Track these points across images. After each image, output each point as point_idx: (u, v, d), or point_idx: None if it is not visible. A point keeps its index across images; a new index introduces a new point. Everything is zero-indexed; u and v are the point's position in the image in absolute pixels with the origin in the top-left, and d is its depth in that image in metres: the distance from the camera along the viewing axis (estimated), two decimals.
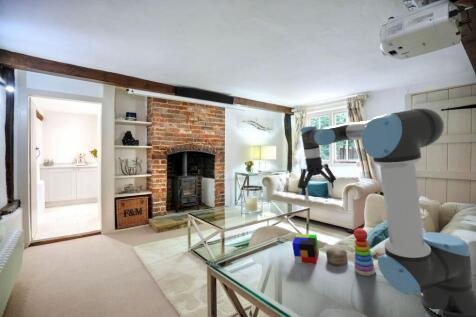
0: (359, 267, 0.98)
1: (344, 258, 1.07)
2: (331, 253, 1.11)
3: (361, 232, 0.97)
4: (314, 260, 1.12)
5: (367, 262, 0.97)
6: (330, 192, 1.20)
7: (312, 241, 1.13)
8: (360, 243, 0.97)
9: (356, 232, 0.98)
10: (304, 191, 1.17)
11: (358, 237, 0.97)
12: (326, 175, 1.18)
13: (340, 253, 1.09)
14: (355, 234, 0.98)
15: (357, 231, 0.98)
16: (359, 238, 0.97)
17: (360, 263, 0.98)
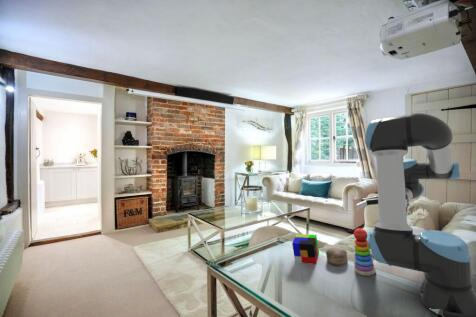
0: (359, 267, 0.98)
1: (344, 258, 1.07)
2: (331, 253, 1.11)
3: (361, 232, 0.97)
4: (314, 260, 1.12)
5: (367, 262, 0.97)
6: None
7: (312, 241, 1.13)
8: (360, 243, 0.97)
9: (356, 232, 0.98)
10: (362, 202, 1.11)
11: (358, 237, 0.97)
12: None
13: (340, 253, 1.09)
14: (355, 234, 0.98)
15: (357, 231, 0.98)
16: (359, 238, 0.97)
17: (360, 263, 0.98)
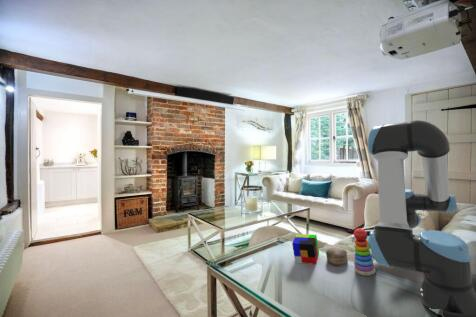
0: (359, 267, 0.98)
1: (344, 258, 1.07)
2: (331, 253, 1.11)
3: (361, 232, 0.97)
4: (314, 260, 1.12)
5: (367, 262, 0.97)
6: None
7: (312, 241, 1.13)
8: (360, 243, 0.97)
9: (356, 232, 0.98)
10: None
11: (358, 237, 0.97)
12: None
13: (340, 253, 1.09)
14: (355, 234, 0.98)
15: (357, 231, 0.98)
16: (359, 238, 0.97)
17: (360, 263, 0.98)
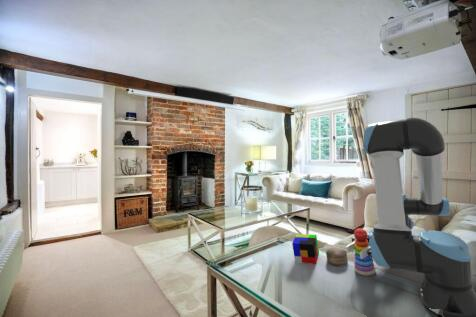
0: (359, 267, 0.98)
1: (344, 258, 1.07)
2: (331, 253, 1.11)
3: (361, 232, 0.97)
4: (314, 260, 1.12)
5: (367, 262, 0.97)
6: None
7: (312, 241, 1.13)
8: (360, 243, 0.97)
9: (356, 232, 0.98)
10: (352, 242, 1.03)
11: (358, 237, 0.97)
12: None
13: (340, 253, 1.09)
14: (355, 234, 0.98)
15: (357, 231, 0.98)
16: (359, 238, 0.97)
17: (360, 263, 0.98)
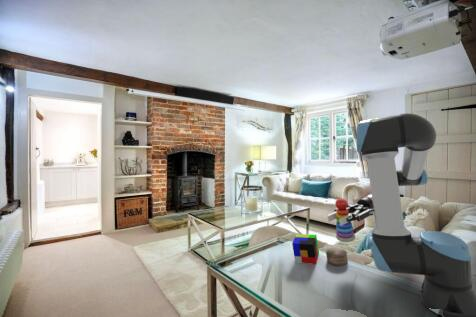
0: (340, 234, 1.04)
1: (344, 258, 1.07)
2: (331, 253, 1.11)
3: (342, 201, 1.03)
4: (314, 260, 1.12)
5: (347, 229, 1.03)
6: None
7: (312, 241, 1.13)
8: (341, 212, 1.03)
9: (337, 201, 1.04)
10: None
11: (339, 206, 1.03)
12: (357, 211, 1.05)
13: (340, 253, 1.09)
14: (336, 203, 1.04)
15: (338, 200, 1.04)
16: (340, 207, 1.03)
17: (340, 230, 1.04)
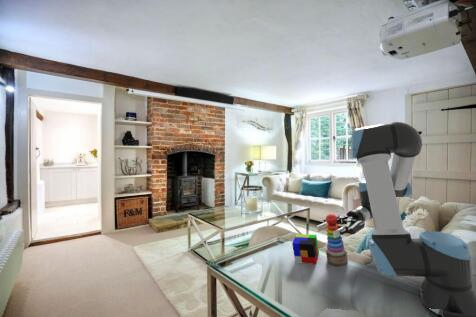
0: (330, 249, 1.08)
1: (344, 258, 1.07)
2: None
3: (332, 217, 1.07)
4: (314, 260, 1.12)
5: (337, 244, 1.07)
6: None
7: (312, 241, 1.13)
8: (331, 227, 1.07)
9: (327, 217, 1.08)
10: (323, 223, 1.15)
11: (329, 222, 1.07)
12: (349, 223, 1.09)
13: None
14: (327, 219, 1.09)
15: (328, 216, 1.08)
16: (330, 222, 1.07)
17: (331, 245, 1.08)
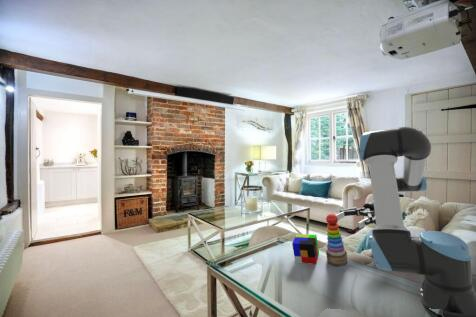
0: (330, 249, 1.08)
1: (344, 258, 1.07)
2: None
3: (332, 217, 1.07)
4: (314, 260, 1.12)
5: (337, 244, 1.07)
6: None
7: (312, 241, 1.13)
8: (331, 227, 1.08)
9: (328, 217, 1.09)
10: (340, 213, 1.23)
11: (329, 221, 1.08)
12: (370, 214, 1.14)
13: None
14: (327, 219, 1.09)
15: (328, 216, 1.09)
16: (330, 222, 1.08)
17: (331, 245, 1.08)
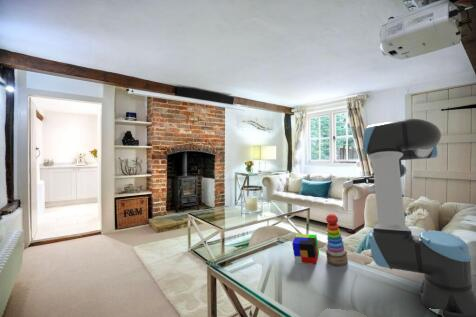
0: (330, 249, 1.08)
1: (344, 258, 1.07)
2: None
3: (332, 217, 1.07)
4: (314, 260, 1.12)
5: (337, 244, 1.07)
6: None
7: (312, 241, 1.13)
8: (331, 227, 1.08)
9: (328, 217, 1.09)
10: None
11: (329, 221, 1.08)
12: None
13: None
14: (327, 219, 1.09)
15: (328, 216, 1.09)
16: (330, 222, 1.08)
17: (331, 245, 1.08)
